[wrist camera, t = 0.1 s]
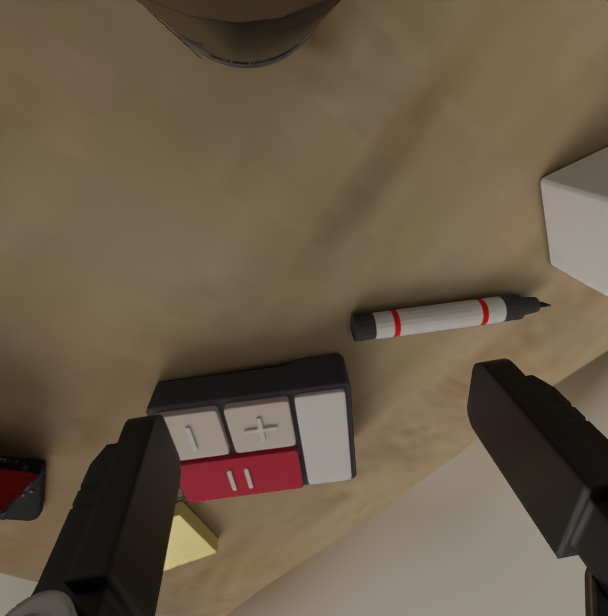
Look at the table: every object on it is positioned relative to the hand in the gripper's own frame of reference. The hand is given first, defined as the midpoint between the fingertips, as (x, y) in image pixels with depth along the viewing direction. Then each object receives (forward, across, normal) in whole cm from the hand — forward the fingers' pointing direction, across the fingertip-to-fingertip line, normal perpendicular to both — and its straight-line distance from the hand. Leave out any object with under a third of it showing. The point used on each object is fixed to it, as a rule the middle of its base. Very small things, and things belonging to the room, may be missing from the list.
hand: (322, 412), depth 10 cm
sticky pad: (+17, +16, +31) cm, 39 cm away
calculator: (+17, +4, +17) cm, 25 cm away
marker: (+17, -12, +9) cm, 23 cm away
